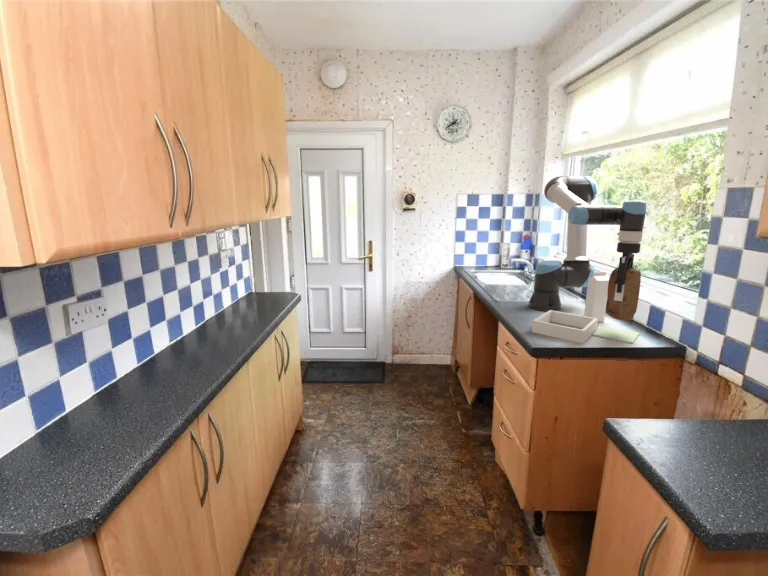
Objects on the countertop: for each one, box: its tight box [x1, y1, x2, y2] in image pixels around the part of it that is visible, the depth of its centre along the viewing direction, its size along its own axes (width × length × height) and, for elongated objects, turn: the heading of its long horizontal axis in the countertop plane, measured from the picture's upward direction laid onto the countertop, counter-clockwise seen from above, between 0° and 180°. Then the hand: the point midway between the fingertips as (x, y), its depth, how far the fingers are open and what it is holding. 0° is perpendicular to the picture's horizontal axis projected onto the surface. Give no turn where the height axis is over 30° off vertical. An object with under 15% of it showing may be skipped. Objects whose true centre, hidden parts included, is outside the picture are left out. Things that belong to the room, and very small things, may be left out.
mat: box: [591, 325, 640, 344], centre depth 157 cm, size 14×14×1 cm
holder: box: [531, 310, 598, 344], centre depth 160 cm, size 20×19×5 cm
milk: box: [583, 271, 609, 323], centre depth 174 cm, size 6×6×22 cm
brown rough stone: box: [605, 266, 642, 321], centre depth 153 cm, size 11×8×20 cm
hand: (621, 297), depth 153 cm, fingers closed on brown rough stone, 11 cm apart
